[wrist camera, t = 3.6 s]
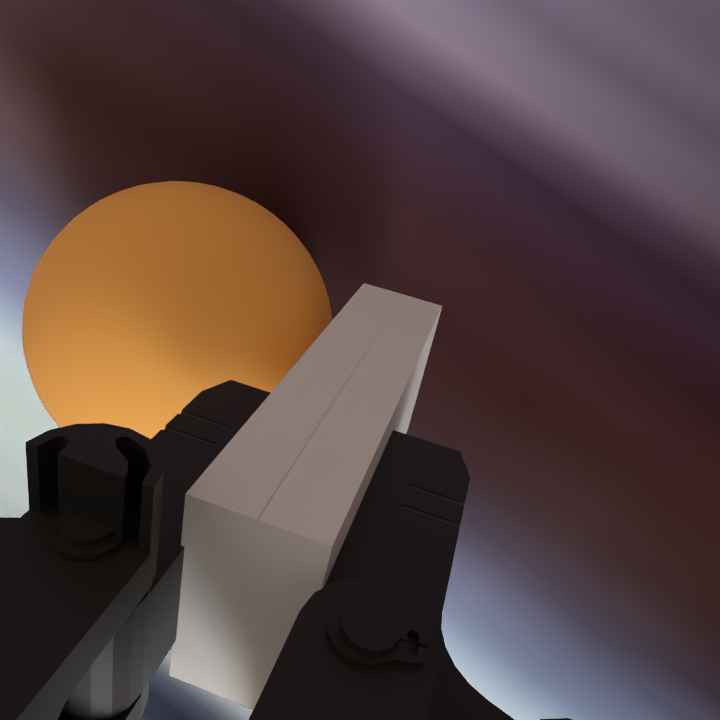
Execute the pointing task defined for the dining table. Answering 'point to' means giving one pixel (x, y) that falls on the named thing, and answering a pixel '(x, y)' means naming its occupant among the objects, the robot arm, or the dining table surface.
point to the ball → (167, 305)
